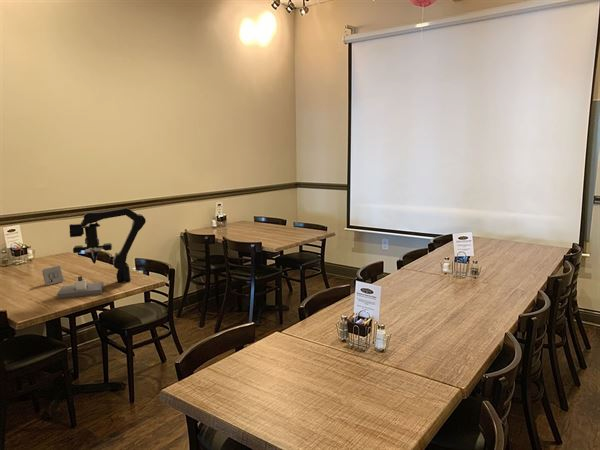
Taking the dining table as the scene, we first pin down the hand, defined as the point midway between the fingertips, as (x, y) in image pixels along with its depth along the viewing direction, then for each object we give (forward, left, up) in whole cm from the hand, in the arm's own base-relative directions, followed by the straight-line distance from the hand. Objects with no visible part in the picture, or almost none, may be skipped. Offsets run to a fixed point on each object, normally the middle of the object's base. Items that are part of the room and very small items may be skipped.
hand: (94, 263), depth 244 cm
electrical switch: (+24, -12, -12) cm, 30 cm away
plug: (+6, +11, -12) cm, 17 cm away
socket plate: (+6, +11, -12) cm, 18 cm away
